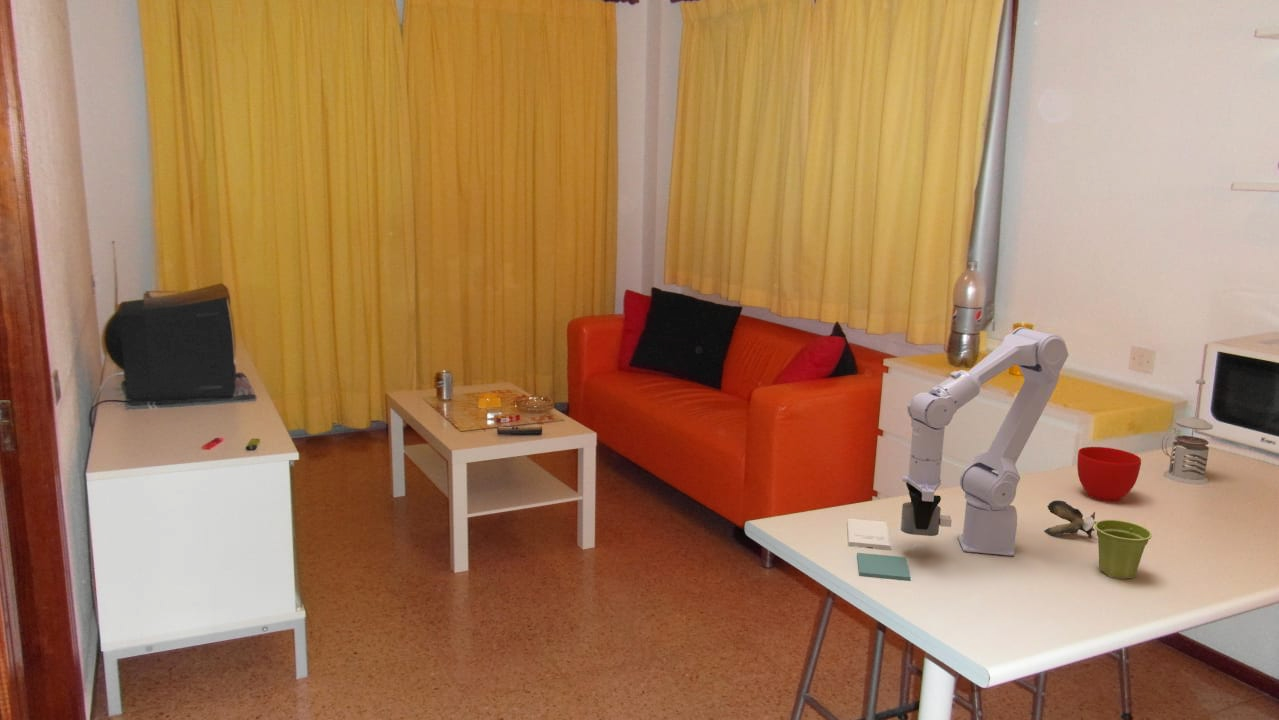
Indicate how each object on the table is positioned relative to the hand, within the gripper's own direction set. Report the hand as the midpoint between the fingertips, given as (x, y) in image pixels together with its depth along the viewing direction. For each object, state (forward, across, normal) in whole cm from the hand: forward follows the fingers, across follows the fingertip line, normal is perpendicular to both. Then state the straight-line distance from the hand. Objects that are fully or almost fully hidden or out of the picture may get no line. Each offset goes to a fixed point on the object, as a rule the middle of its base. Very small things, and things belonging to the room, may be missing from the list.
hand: (920, 524), depth 177 cm
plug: (+1, 0, 0) cm, 1 cm away
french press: (+7, -64, +70) cm, 95 cm away
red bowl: (+7, -46, +47) cm, 66 cm away
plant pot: (+6, 0, +36) cm, 36 cm away
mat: (+6, +8, -7) cm, 12 cm away
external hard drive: (+7, -7, -9) cm, 13 cm away
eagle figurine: (+7, -18, +32) cm, 37 cm away
